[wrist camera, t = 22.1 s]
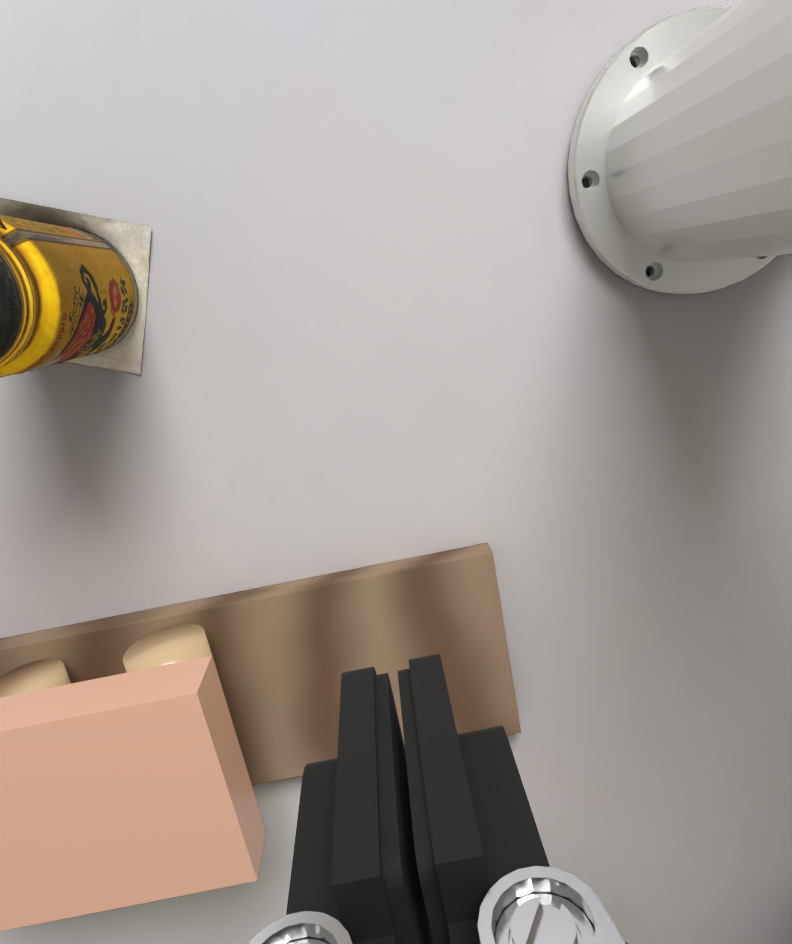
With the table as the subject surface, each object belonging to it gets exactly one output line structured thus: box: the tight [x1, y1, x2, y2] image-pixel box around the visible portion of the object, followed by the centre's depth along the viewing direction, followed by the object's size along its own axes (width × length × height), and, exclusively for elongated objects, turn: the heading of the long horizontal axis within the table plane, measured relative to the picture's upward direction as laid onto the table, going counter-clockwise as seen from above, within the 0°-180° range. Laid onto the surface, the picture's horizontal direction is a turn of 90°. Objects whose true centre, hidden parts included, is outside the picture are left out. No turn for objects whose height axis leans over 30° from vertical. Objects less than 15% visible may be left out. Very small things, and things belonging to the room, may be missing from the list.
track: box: [0, 543, 521, 785], centre depth 35 cm, size 33×12×8 cm, turn 101°
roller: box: [0, 659, 71, 698], centre depth 35 cm, size 4×10×4 cm, turn 10°
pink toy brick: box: [0, 623, 266, 931], centre depth 34 cm, size 16×11×7 cm
